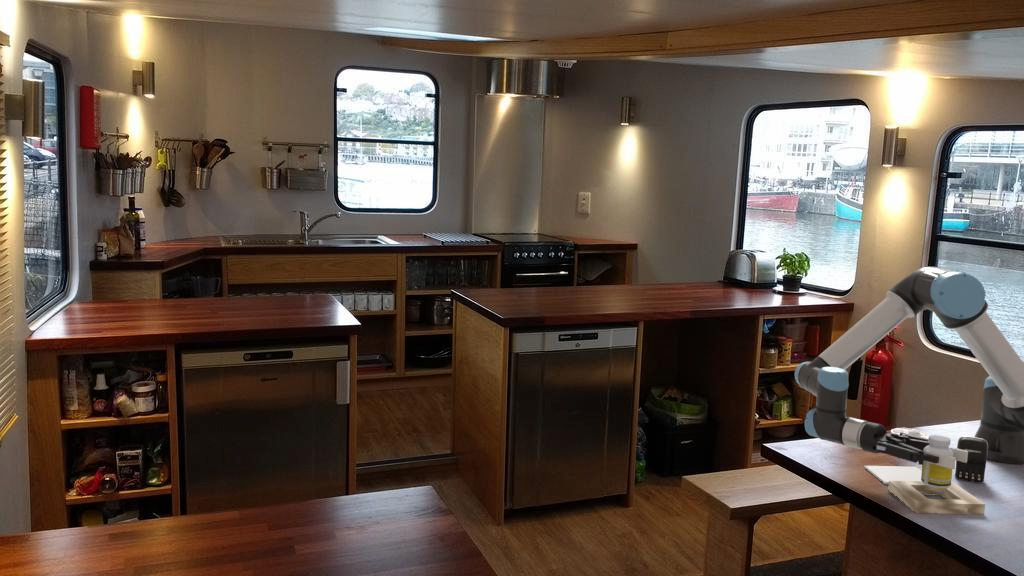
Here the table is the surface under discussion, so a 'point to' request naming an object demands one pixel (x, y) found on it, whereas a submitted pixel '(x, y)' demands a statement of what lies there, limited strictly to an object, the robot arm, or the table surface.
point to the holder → (953, 504)
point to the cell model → (910, 432)
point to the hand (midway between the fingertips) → (960, 460)
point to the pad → (895, 473)
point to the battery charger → (972, 459)
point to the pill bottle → (935, 473)
